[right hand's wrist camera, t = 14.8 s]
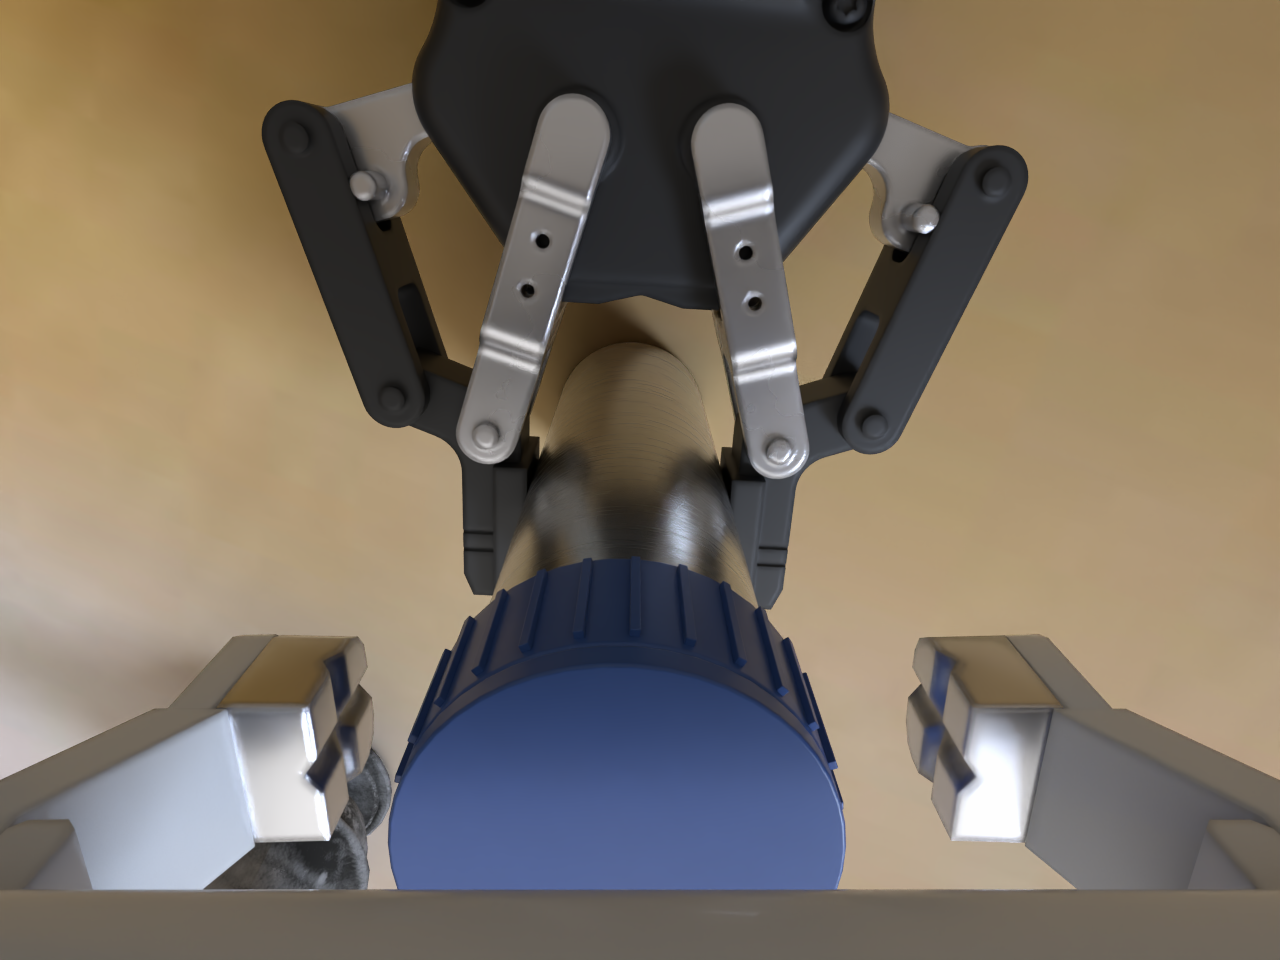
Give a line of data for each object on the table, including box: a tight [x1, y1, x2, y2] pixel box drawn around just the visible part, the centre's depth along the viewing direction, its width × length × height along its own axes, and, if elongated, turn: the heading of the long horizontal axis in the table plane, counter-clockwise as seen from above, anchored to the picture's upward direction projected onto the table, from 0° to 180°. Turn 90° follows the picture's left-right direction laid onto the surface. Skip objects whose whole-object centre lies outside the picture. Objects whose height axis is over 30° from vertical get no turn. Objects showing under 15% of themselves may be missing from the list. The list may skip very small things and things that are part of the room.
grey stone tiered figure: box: [204, 748, 392, 889], centre depth 22 cm, size 6×6×12 cm
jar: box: [490, 342, 758, 609], centre depth 16 cm, size 4×4×16 cm
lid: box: [388, 556, 846, 890], centre depth 9 cm, size 5×5×2 cm
